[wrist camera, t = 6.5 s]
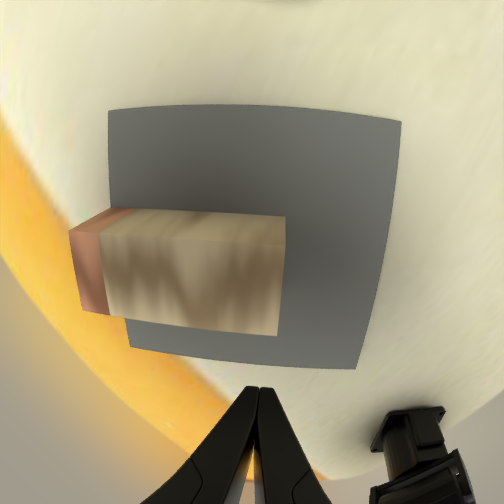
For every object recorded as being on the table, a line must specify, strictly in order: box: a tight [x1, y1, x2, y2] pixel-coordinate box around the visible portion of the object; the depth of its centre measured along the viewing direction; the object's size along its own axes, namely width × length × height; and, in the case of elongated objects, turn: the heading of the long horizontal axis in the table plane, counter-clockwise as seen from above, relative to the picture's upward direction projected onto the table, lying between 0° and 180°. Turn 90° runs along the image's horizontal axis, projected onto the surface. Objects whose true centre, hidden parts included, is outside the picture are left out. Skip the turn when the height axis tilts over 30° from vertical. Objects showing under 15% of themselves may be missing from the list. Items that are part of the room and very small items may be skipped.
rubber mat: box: [108, 105, 401, 369], centre depth 21 cm, size 18×18×1 cm
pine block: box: [69, 208, 286, 336], centre depth 18 cm, size 5×5×12 cm
